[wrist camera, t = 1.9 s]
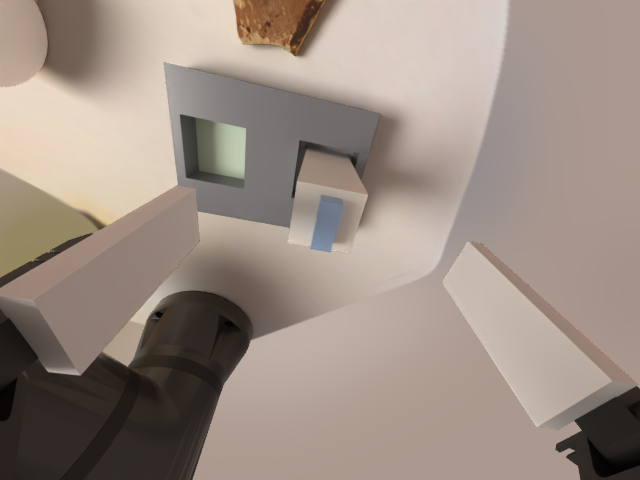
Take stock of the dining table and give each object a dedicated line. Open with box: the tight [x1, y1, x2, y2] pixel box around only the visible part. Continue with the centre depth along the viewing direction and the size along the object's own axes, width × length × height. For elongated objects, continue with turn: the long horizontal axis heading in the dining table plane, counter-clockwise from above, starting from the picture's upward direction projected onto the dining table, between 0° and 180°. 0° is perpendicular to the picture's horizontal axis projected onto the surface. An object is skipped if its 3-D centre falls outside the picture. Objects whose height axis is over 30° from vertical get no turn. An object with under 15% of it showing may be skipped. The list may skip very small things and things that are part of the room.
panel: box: [164, 62, 380, 228], centre depth 22 cm, size 12×17×3 cm
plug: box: [288, 146, 368, 253], centre depth 18 cm, size 4×4×13 cm
